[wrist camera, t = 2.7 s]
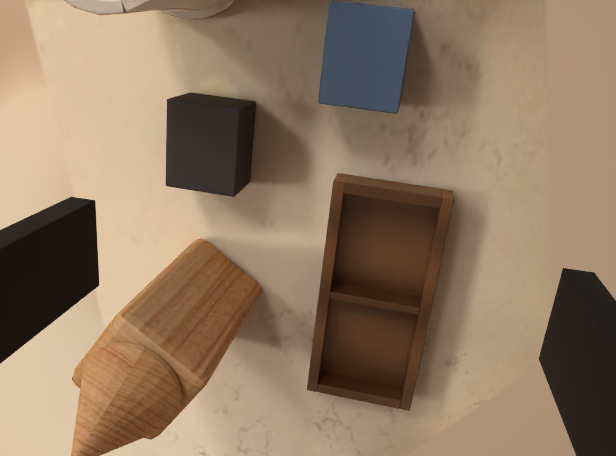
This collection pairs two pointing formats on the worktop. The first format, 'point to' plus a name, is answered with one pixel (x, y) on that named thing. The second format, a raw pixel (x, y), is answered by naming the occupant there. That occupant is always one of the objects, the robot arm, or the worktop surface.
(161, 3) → the cup
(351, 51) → the slate blue block
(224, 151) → the dark grey block
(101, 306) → the worktop surface
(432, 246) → the holder
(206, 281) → the decorative item
